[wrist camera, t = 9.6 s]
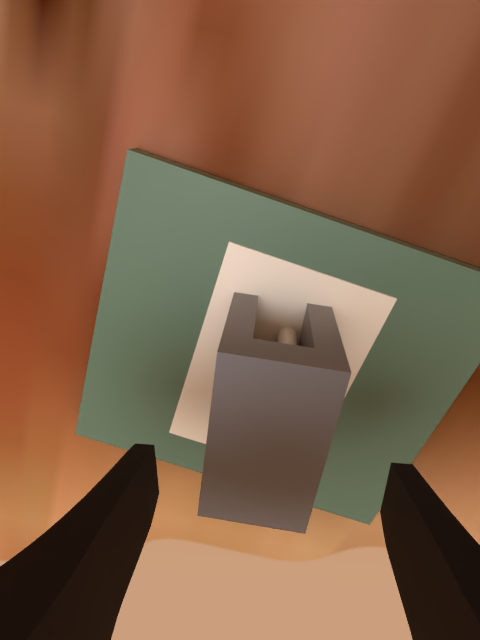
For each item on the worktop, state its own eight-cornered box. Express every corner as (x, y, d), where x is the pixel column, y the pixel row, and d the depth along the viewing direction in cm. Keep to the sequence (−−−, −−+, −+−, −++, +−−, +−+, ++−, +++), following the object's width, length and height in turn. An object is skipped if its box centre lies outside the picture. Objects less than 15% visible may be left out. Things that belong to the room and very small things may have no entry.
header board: (516, 280, 17) (572, 316, 13) (365, 508, 22) (380, 570, 19) (136, 148, 16) (100, 152, 13) (83, 421, 22) (49, 470, 18)
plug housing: (331, 306, 17) (351, 372, 12) (299, 440, 20) (304, 533, 15) (234, 291, 17) (217, 351, 12) (216, 427, 20) (197, 515, 15)
